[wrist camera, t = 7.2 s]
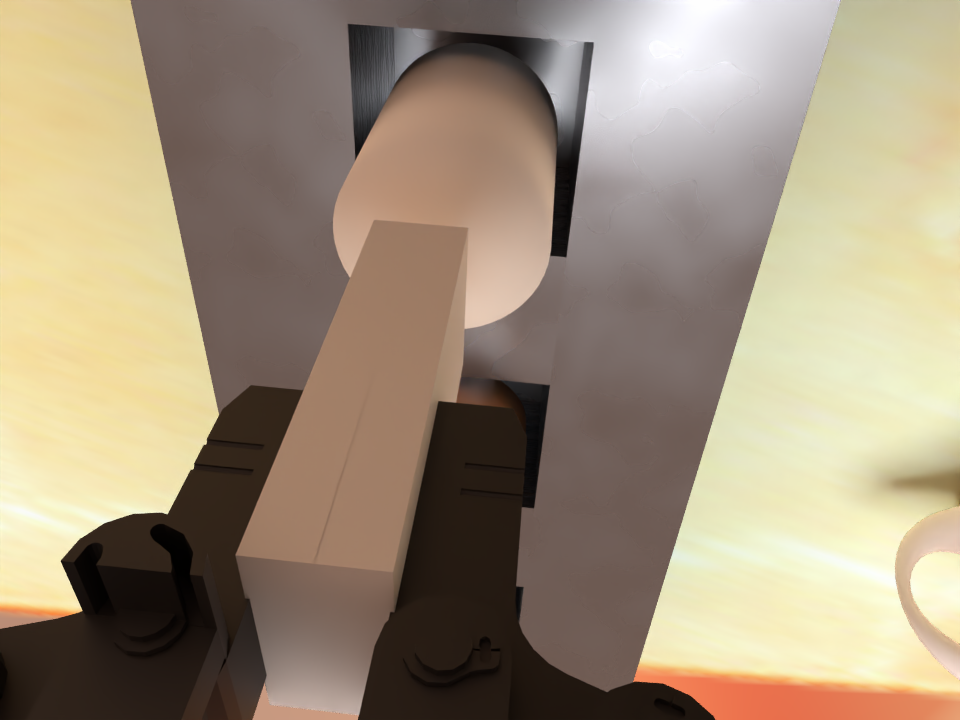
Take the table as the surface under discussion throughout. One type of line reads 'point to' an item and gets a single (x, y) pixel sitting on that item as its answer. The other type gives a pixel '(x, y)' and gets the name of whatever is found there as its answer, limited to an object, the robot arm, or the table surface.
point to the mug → (929, 535)
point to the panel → (574, 247)
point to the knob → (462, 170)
